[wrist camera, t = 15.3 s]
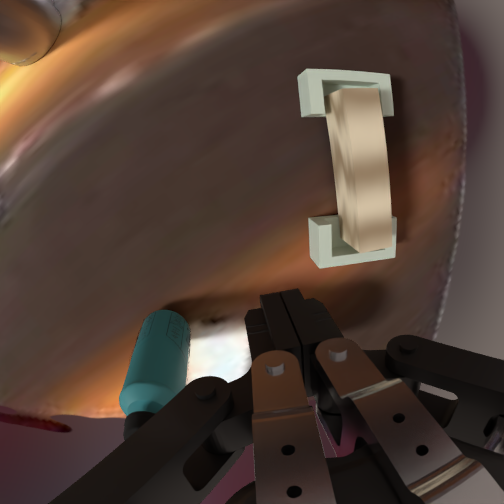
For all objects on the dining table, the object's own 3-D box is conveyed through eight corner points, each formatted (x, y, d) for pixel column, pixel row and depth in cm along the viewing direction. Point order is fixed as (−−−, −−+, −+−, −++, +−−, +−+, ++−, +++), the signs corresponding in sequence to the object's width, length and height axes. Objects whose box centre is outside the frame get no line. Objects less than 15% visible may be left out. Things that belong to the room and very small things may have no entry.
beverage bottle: (137, 308, 39) (91, 422, 20) (183, 296, 39) (163, 414, 20) (155, 347, 41) (129, 465, 22) (200, 337, 41) (194, 460, 22)
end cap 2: (380, 247, 40) (394, 257, 36) (309, 256, 39) (319, 268, 35) (381, 210, 38) (396, 217, 34) (308, 217, 38) (318, 225, 34)
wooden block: (322, 96, 32) (342, 88, 26) (354, 95, 32) (377, 88, 27) (340, 237, 38) (360, 253, 32) (369, 232, 38) (392, 246, 32)
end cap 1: (297, 76, 32) (306, 68, 28) (374, 80, 33) (389, 74, 29) (301, 117, 34) (311, 113, 30) (377, 117, 34) (394, 115, 31)
